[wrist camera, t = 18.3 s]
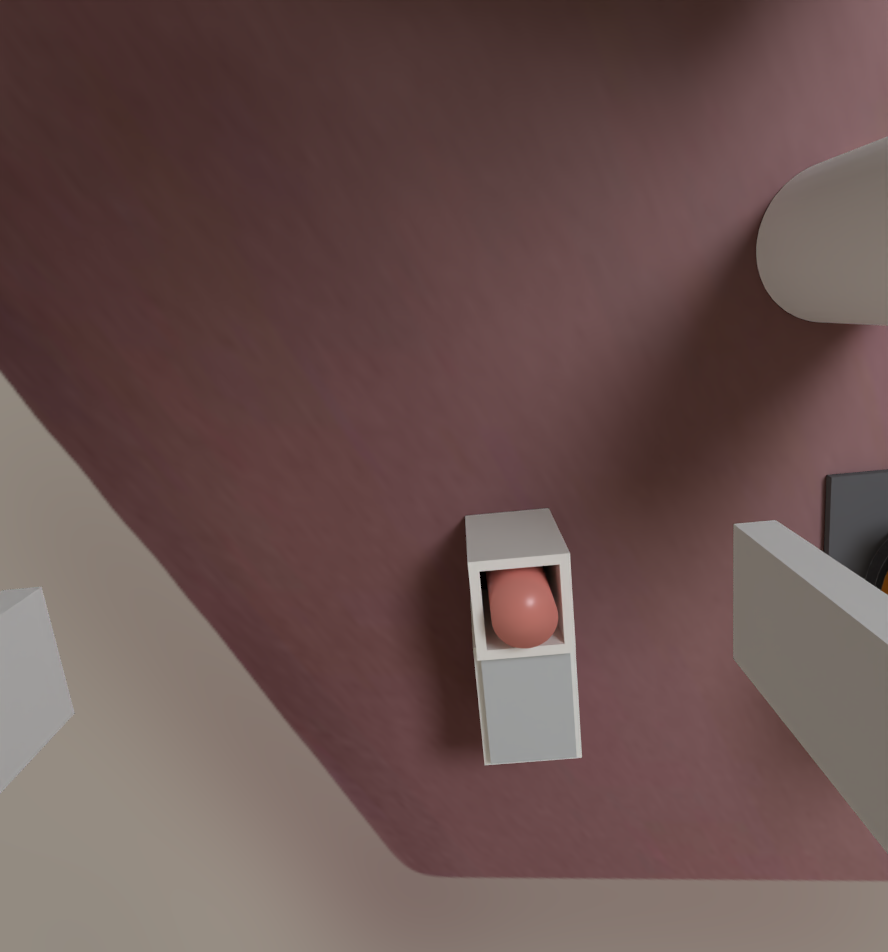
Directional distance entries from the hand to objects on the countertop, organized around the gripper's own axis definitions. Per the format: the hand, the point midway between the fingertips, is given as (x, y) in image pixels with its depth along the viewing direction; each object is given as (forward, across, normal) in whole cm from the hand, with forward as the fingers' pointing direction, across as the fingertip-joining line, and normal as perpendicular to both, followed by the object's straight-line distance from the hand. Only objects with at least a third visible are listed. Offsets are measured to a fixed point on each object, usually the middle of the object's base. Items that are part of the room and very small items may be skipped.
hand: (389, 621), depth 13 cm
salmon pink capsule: (+30, +4, -11) cm, 32 cm away
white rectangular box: (+32, +4, -15) cm, 35 cm away
